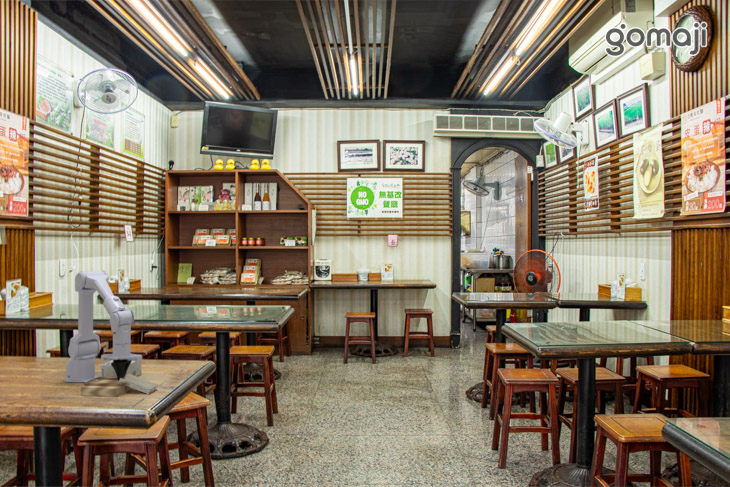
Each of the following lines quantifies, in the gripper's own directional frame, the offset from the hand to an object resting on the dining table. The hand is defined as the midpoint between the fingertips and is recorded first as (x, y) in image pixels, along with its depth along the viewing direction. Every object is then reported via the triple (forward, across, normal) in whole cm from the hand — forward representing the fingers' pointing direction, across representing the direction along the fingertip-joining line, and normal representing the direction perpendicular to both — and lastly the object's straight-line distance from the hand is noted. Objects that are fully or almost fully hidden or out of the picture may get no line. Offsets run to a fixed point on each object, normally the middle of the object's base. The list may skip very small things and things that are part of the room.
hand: (121, 380), depth 160 cm
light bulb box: (+1, -4, +16) cm, 17 cm away
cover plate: (+2, +6, 0) cm, 7 cm away
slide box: (+4, -4, 0) cm, 6 cm away
